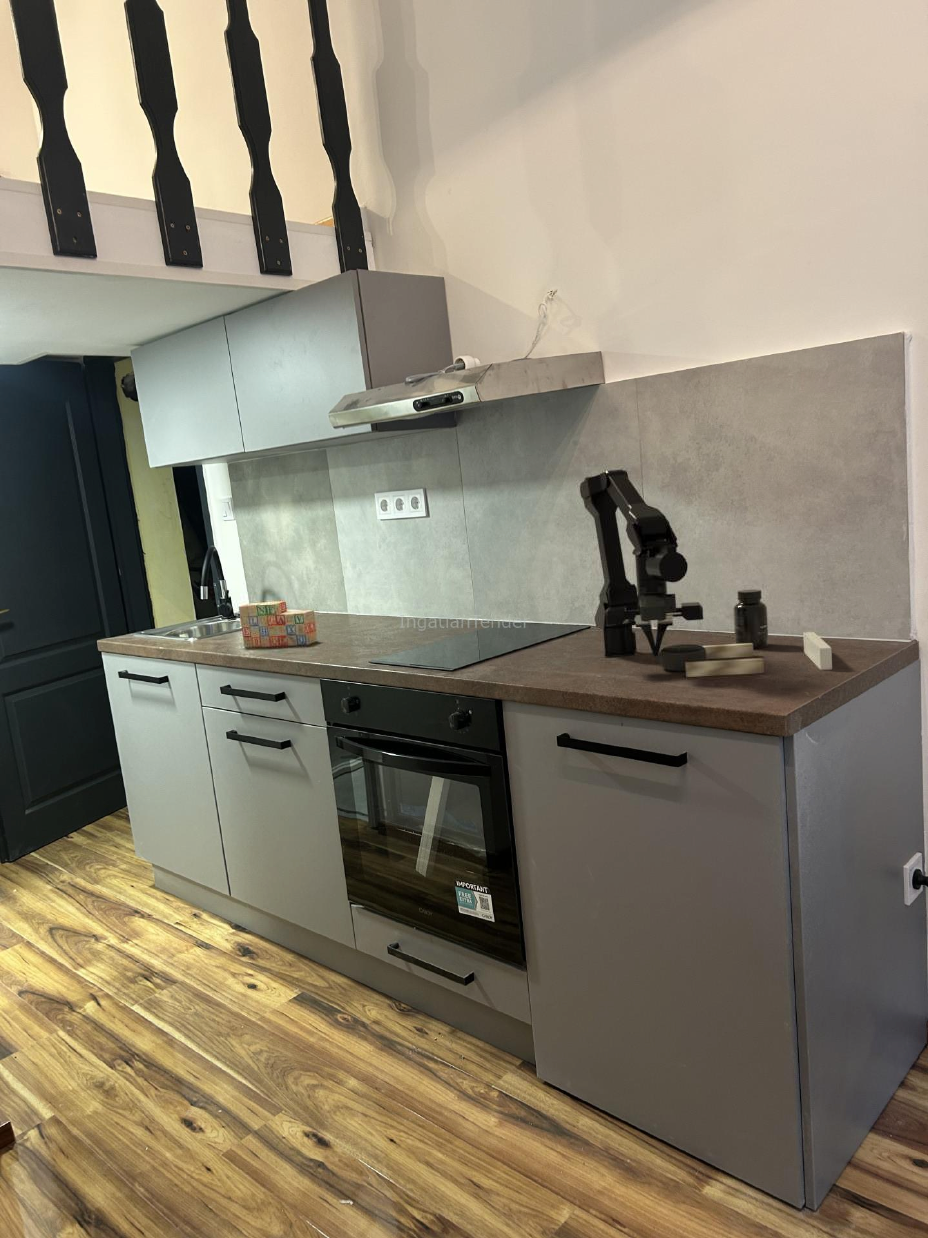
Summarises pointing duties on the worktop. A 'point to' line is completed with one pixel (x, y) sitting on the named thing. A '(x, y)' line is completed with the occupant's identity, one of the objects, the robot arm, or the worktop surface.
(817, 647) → the block
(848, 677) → the worktop surface
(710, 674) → the tunnel walls
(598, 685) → the worktop surface
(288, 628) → the stack of blocks
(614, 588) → the robot arm
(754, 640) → the supplement bottle
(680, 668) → the smart speaker
